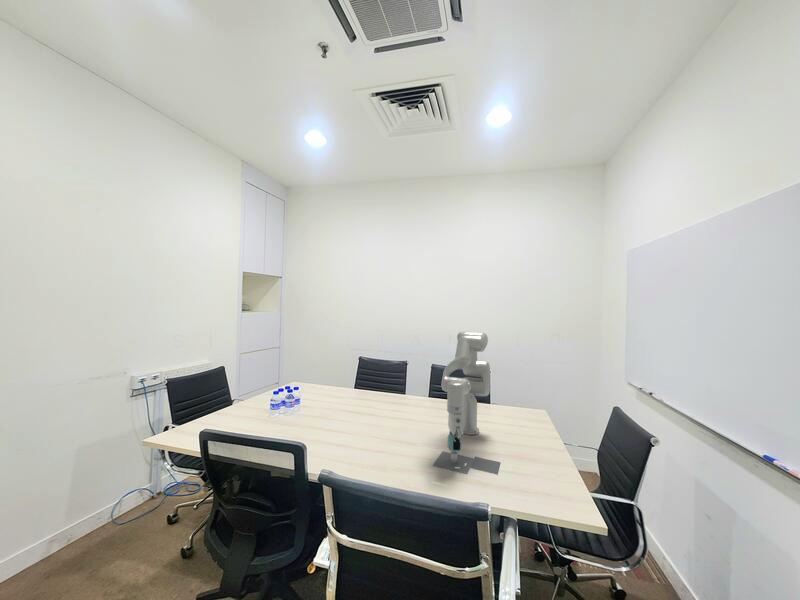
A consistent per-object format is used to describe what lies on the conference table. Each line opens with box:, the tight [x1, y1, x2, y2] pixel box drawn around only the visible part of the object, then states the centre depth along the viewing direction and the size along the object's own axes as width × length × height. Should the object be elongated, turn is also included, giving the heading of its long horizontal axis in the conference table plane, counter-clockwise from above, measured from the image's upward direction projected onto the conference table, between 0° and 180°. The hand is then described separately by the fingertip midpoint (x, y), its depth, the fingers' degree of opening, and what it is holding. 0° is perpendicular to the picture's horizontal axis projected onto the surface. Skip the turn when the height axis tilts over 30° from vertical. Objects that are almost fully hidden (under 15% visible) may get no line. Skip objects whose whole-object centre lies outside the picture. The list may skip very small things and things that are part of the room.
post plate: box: [432, 451, 475, 475], centre depth 147 cm, size 16×16×5 cm
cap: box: [447, 433, 463, 453], centre depth 147 cm, size 6×6×6 cm
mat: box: [470, 456, 501, 476], centre depth 144 cm, size 12×12×1 cm
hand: (454, 445), depth 147 cm, fingers closed on cap, 6 cm apart
